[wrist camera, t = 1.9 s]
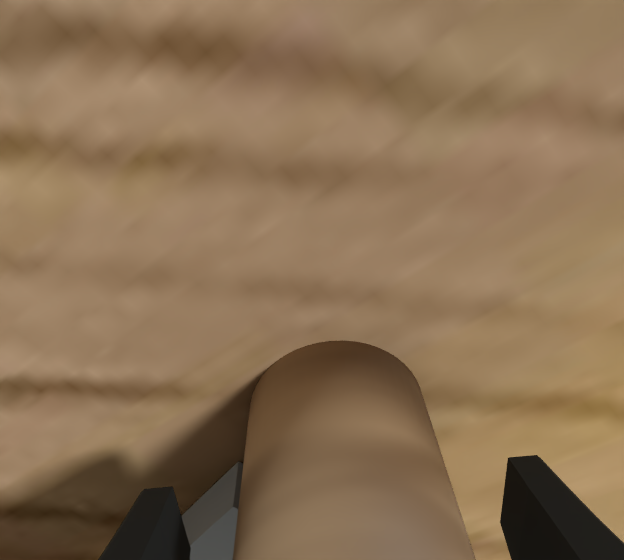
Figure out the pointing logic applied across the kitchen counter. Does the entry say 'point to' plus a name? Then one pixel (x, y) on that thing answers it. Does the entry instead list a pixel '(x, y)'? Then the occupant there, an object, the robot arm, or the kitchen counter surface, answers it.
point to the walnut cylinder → (344, 463)
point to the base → (215, 518)
